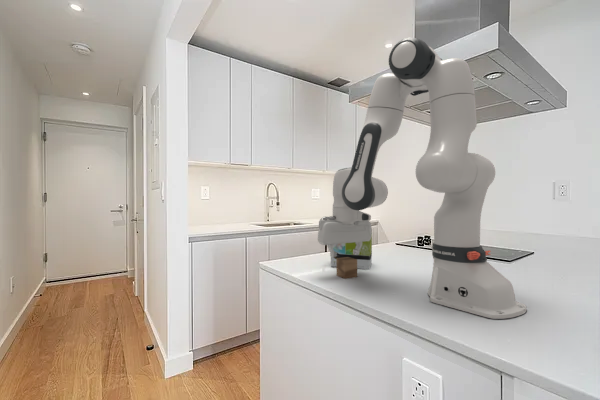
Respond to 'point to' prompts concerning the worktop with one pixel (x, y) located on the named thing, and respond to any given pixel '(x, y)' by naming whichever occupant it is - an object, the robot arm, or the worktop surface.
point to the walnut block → (346, 267)
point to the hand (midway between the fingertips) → (345, 255)
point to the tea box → (347, 251)
